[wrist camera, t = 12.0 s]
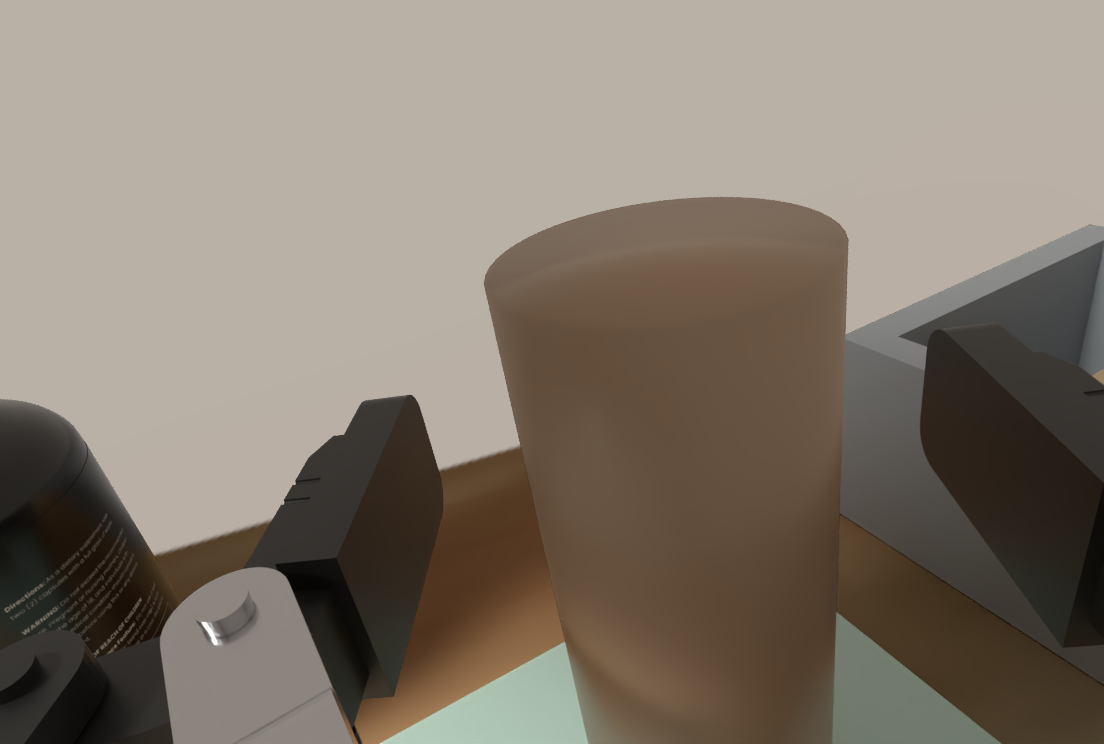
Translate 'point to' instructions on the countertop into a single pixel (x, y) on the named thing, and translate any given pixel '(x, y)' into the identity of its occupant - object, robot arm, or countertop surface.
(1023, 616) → the storage box
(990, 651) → the countertop surface
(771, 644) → the peg on green base
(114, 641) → the supplement bottle
